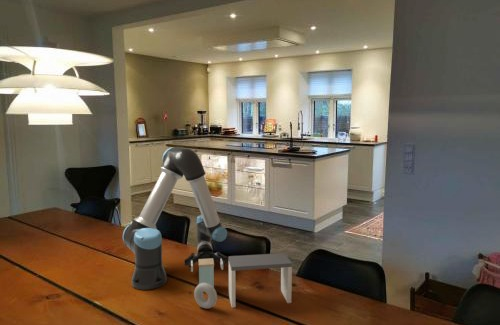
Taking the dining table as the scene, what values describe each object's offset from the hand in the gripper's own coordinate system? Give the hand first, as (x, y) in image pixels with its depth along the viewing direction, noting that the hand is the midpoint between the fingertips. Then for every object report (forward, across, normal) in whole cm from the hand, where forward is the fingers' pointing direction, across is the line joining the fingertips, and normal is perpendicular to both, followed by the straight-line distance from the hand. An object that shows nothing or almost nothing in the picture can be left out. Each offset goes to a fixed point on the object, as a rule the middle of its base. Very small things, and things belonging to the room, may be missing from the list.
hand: (207, 268), depth 162 cm
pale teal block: (+7, +1, -6) cm, 9 cm away
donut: (+23, +2, -7) cm, 24 cm away
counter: (+19, -20, -6) cm, 28 cm away
